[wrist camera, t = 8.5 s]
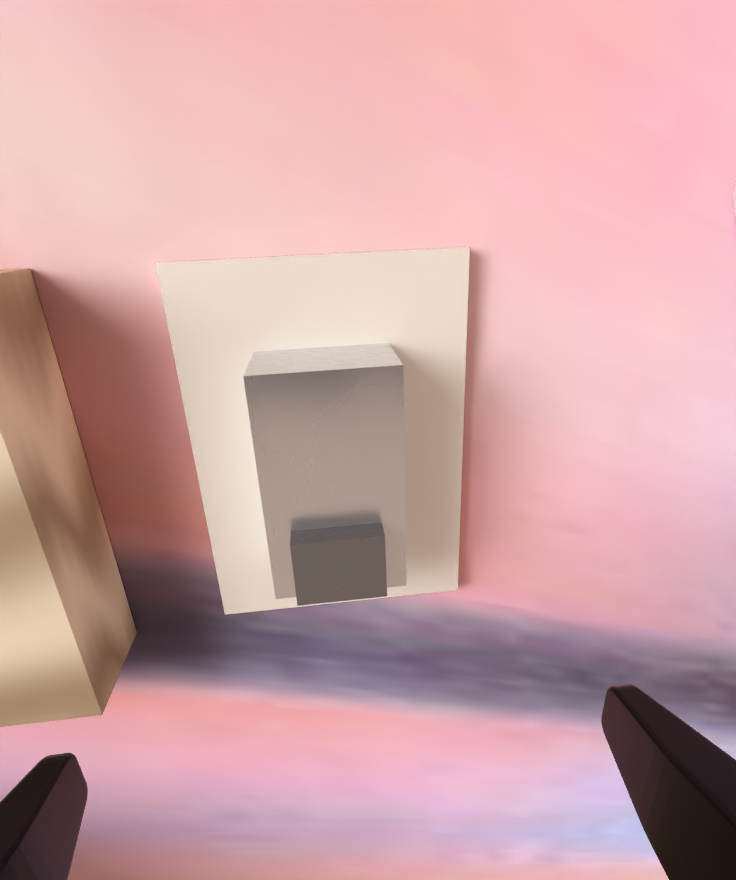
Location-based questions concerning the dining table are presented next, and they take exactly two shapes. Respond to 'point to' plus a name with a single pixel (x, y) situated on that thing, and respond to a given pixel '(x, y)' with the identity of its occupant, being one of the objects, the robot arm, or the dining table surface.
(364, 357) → the lever cap
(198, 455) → the board
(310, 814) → the dining table surface
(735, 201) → the bottle
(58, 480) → the body
